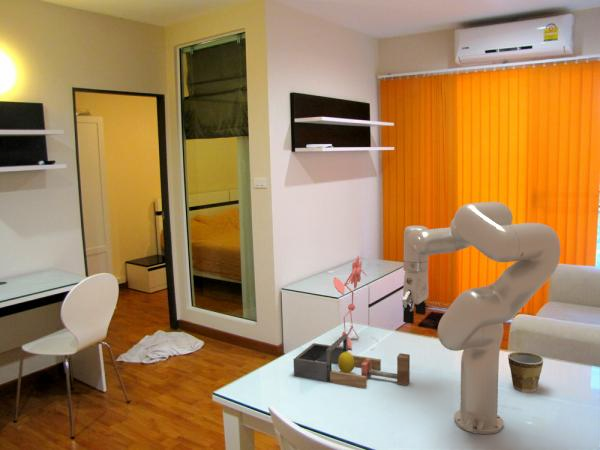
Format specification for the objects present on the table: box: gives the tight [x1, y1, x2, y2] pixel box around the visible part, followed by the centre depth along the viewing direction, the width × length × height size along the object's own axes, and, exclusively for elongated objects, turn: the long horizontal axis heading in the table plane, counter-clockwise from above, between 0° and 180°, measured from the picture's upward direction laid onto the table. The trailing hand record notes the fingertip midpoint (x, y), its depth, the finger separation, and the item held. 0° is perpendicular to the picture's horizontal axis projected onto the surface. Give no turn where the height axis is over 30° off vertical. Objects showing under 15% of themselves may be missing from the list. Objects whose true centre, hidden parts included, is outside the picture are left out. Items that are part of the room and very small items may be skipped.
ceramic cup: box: [507, 351, 544, 394], centre depth 163 cm, size 13×10×10 cm
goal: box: [293, 333, 349, 383], centre depth 180 cm, size 16×13×11 cm
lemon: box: [337, 351, 355, 374], centre depth 176 cm, size 6×6×8 cm
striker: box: [360, 352, 411, 386], centre depth 170 cm, size 6×15×9 cm, turn 64°
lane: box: [329, 354, 382, 389], centre depth 175 cm, size 16×12×4 cm
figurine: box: [333, 255, 379, 351], centre depth 202 cm, size 15×26×35 cm, turn 157°
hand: (414, 318), depth 166 cm, fingers open, 9 cm apart
